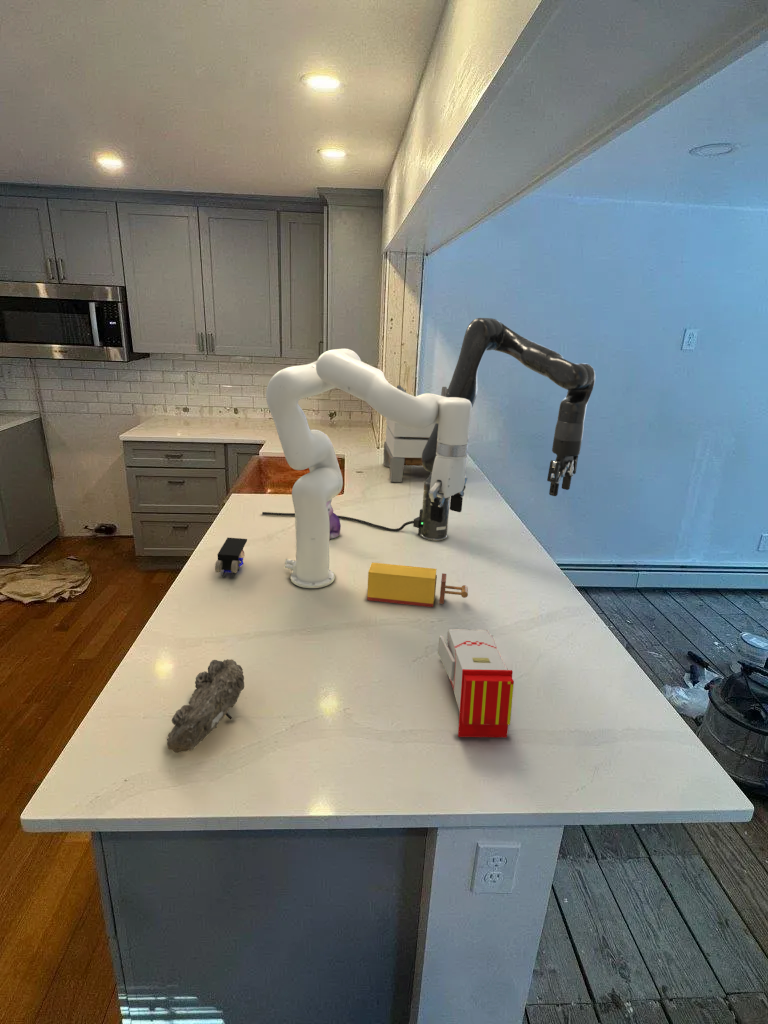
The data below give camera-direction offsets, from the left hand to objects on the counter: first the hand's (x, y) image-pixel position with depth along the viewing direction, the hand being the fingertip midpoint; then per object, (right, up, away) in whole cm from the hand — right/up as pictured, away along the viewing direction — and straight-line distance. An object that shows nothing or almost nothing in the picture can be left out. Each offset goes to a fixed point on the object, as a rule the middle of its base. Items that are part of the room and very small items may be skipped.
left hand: (446, 515), depth 143 cm
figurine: (-35, -7, +52) cm, 63 cm away
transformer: (+2, +20, +132) cm, 133 cm away
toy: (+2, -37, -25) cm, 44 cm away
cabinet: (-11, -23, +13) cm, 28 cm away
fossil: (-48, -38, -35) cm, 71 cm away
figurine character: (-61, -16, +25) cm, 67 cm away
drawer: (-5, -22, +11) cm, 26 cm away
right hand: (+35, +7, +20) cm, 41 cm away
